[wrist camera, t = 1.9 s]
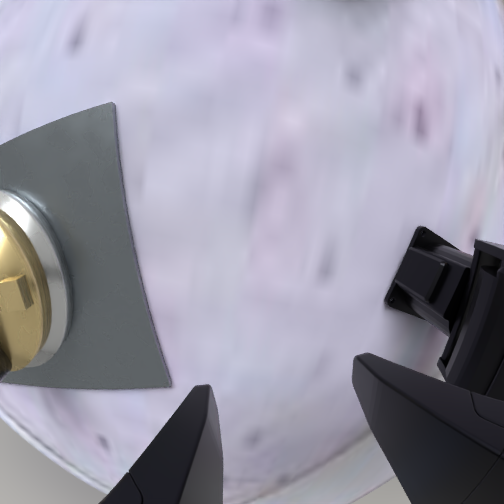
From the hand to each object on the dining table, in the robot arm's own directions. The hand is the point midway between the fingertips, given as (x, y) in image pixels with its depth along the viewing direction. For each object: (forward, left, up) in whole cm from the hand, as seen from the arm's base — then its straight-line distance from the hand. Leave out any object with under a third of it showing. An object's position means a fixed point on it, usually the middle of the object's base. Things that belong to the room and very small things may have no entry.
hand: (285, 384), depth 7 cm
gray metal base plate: (+17, +8, -12) cm, 22 cm away
